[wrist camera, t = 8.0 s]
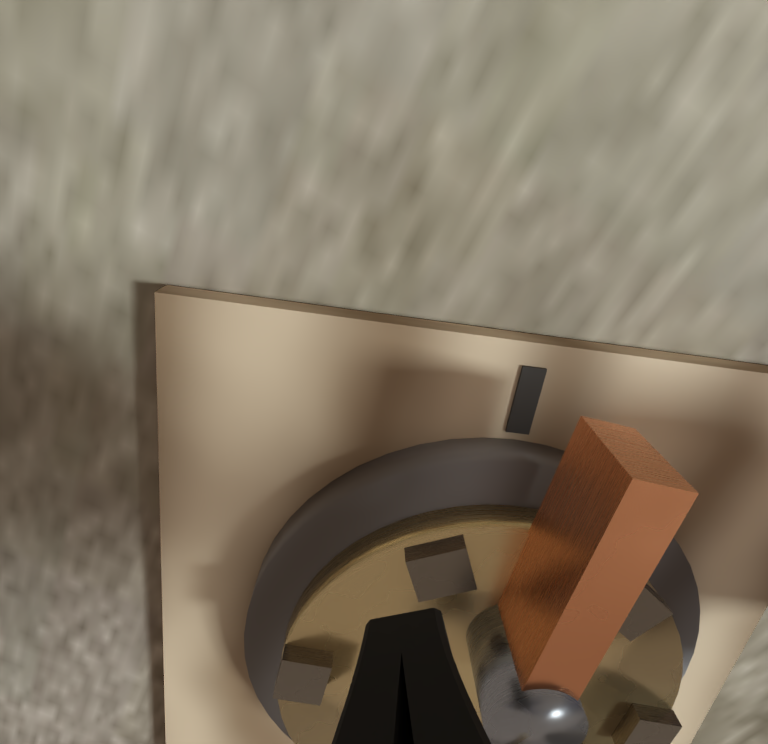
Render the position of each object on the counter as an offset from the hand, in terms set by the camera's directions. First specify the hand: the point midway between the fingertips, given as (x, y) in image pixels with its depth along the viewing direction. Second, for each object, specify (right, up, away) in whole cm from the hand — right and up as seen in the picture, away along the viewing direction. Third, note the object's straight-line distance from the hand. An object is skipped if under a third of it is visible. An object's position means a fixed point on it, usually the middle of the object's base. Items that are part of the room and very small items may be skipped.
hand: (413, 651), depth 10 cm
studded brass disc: (+3, -4, +9) cm, 10 cm away
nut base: (+3, -5, +12) cm, 13 cm away
